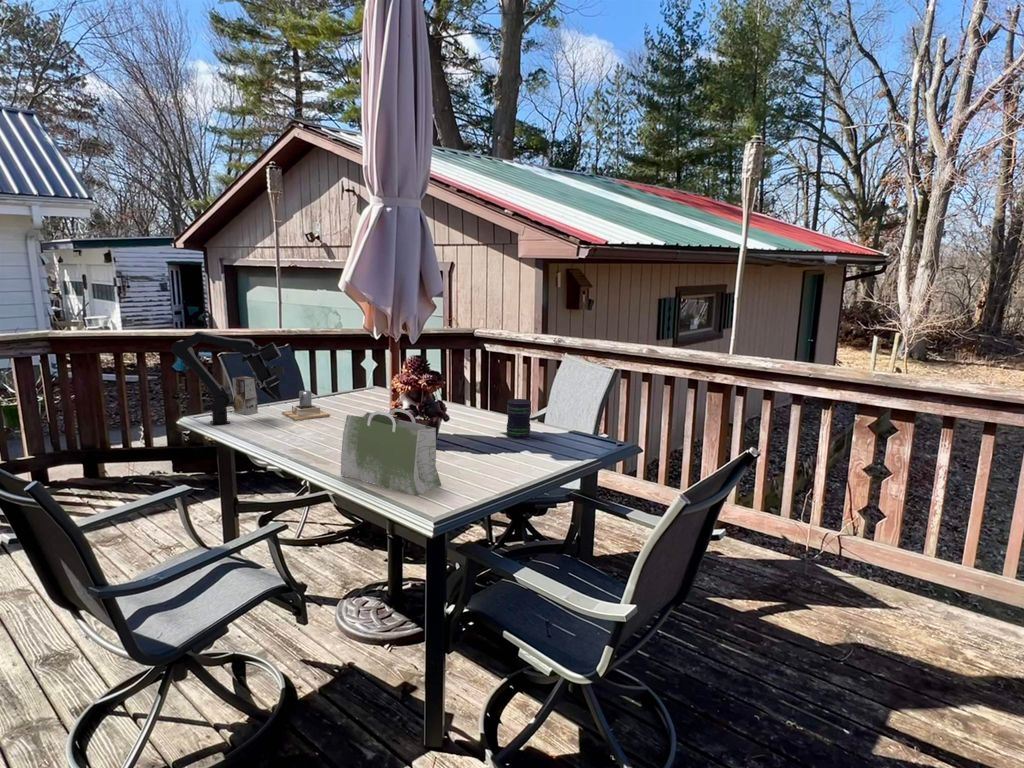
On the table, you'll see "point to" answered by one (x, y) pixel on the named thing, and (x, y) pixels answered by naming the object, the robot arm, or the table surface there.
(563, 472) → the table surface
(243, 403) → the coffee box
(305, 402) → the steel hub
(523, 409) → the storage jar
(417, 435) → the grocery bag
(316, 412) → the socket block
